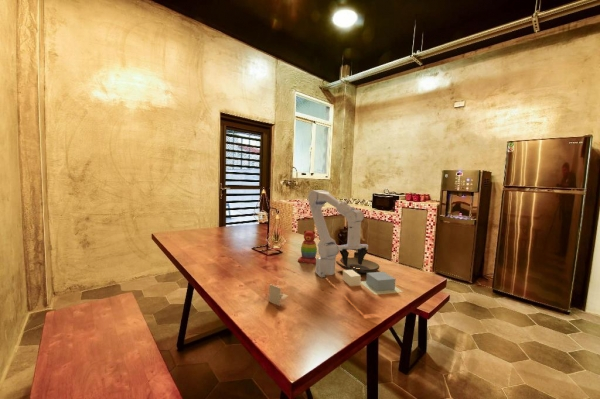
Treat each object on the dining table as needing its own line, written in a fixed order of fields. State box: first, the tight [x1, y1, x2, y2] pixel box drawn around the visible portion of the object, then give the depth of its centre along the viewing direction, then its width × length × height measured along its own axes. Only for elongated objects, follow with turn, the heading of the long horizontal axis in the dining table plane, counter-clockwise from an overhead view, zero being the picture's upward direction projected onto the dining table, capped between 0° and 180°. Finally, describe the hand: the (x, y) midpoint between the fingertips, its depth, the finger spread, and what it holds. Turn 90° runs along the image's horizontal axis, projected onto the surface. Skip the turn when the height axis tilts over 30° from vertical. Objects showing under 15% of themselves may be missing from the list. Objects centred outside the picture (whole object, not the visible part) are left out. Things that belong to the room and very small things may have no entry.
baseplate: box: [360, 280, 404, 296], centre depth 118 cm, size 14×14×1 cm
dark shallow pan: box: [335, 249, 380, 274], centre depth 142 cm, size 22×30×8 cm
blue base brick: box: [365, 271, 396, 292], centre depth 118 cm, size 9×9×5 cm
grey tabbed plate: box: [268, 283, 289, 307], centre depth 101 cm, size 3×7×7 cm, turn 53°
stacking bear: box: [297, 230, 318, 265], centre depth 152 cm, size 11×10×18 cm
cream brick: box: [341, 269, 362, 287], centre depth 121 cm, size 5×8×6 cm, turn 17°
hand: (352, 264), depth 121 cm, fingers open, 7 cm apart
